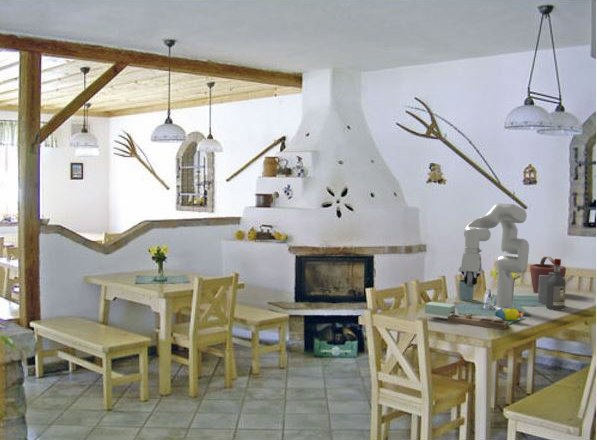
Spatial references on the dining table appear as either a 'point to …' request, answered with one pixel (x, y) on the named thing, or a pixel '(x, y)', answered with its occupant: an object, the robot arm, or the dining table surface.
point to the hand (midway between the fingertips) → (470, 283)
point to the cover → (439, 308)
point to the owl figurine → (509, 314)
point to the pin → (470, 279)
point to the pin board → (478, 321)
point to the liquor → (556, 289)
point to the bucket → (543, 271)
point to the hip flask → (543, 287)
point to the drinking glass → (465, 291)
